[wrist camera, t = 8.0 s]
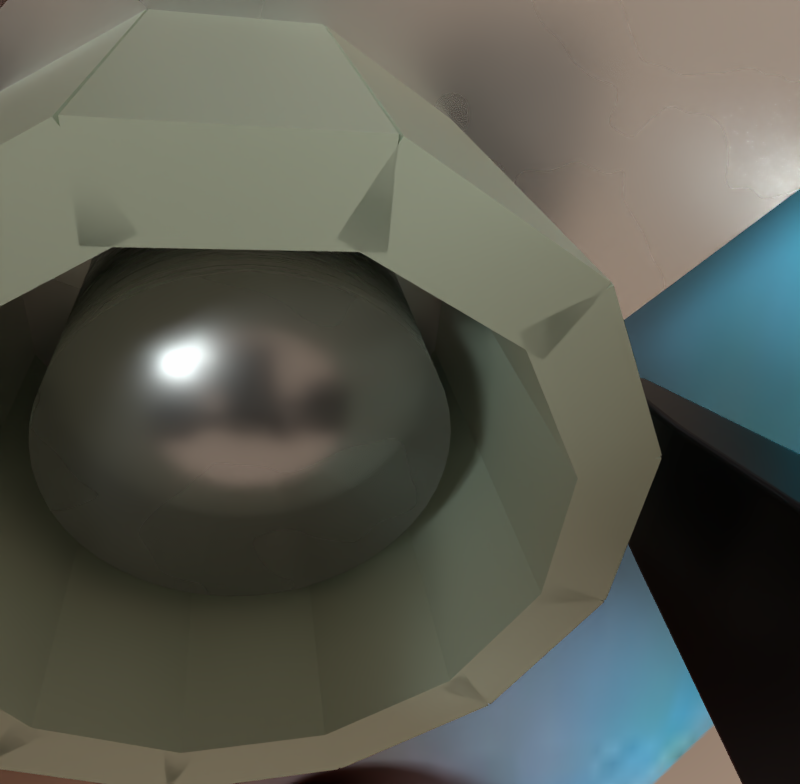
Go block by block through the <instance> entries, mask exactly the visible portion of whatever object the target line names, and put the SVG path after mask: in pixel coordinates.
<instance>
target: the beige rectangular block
mask: <svg viewBox="0 0 800 784" xmlns="http://www.w3.org/2000/svg"><path fill="white" fill-rule="evenodd" d="M148 9H153V10H165V11H176V12H188V13H199V14H211V15H222V16H234V17H245V18H257V19H268V20H279V21H291V22H302V23H314V24H323V25H324V26H327V27H329V28H330V29H331V30H333V31H334V32H335V33H337V34H338V35H339V36H341V37H342V38H343V39H345V40H346V41H347V42H349V43H350V44H351V45H353V46H354V47H355V48H357V49H358V50H359V51H361V52H362V53H363V54H365V55H366V56H367V57H369V58H370V59H371V60H373V61H374V62H375V63H377V64H378V65H379V66H381V67H382V68H383V69H385V70H386V71H387V72H389V73H390V74H391V75H393V76H394V77H395V78H397V79H398V80H399V81H401V82H402V83H403V84H405V85H406V86H407V87H409V88H410V89H411V90H413V91H414V92H415V93H417V94H418V95H419V96H421V97H422V98H423V99H425V100H426V101H427V102H429V103H430V104H431V105H433V106H434V107H435V108H437V109H438V110H439V111H441V112H442V113H443V114H445V115H446V116H447V117H449V118H450V119H451V120H452V121H453V122H454V123H455V124H456V125H457V126H458V127H459V128H460V129H461V130H462V131H463V132H464V133H465V134H466V135H467V136H468V137H469V138H470V139H471V140H472V141H473V142H474V143H475V144H476V145H477V146H478V147H479V148H480V149H481V150H482V151H483V152H484V153H485V154H486V155H487V156H488V157H489V158H490V159H491V160H492V161H493V162H494V163H495V164H496V165H497V166H498V167H499V168H500V169H501V170H502V171H503V172H504V173H505V174H506V175H507V176H508V178H509V179H510V180H511V181H512V182H513V183H514V184H515V185H516V186H517V187H518V188H519V189H520V190H521V191H522V192H523V193H524V194H525V195H526V196H527V197H528V198H529V199H530V200H531V201H532V202H533V203H534V204H535V205H536V206H537V207H538V208H539V209H540V210H541V211H542V212H543V213H544V214H545V215H546V216H547V217H548V218H549V219H550V220H551V221H552V222H553V223H554V224H555V225H556V226H557V227H558V228H559V229H560V230H561V231H562V232H563V233H564V235H565V236H566V237H567V238H568V239H569V240H570V241H571V242H572V243H573V244H574V245H575V246H576V247H577V248H578V249H579V250H580V251H581V252H582V253H583V254H584V255H585V256H586V257H587V258H588V259H589V260H590V261H591V262H592V263H593V264H594V265H595V266H596V267H597V268H598V269H599V270H600V271H601V272H602V273H603V274H604V275H605V276H606V277H607V278H608V279H609V280H610V281H611V282H612V284H613V285H614V288H615V292H616V295H617V299H618V302H619V306H620V309H621V313H622V316H623V320H625V319H626V318H627V317H629V316H630V315H631V314H633V313H634V312H635V311H637V310H638V309H639V308H641V307H642V306H643V305H645V304H646V303H647V302H649V301H650V300H652V299H653V298H654V297H656V296H657V295H658V294H660V293H661V292H662V291H664V290H665V289H666V288H668V287H669V286H670V285H672V284H673V283H674V282H676V281H677V280H678V279H680V278H681V277H682V276H684V275H685V274H686V273H688V272H689V271H690V270H692V269H693V268H694V267H696V266H697V265H698V264H700V263H701V262H702V261H704V260H705V259H706V258H708V257H709V256H710V255H712V254H713V253H714V252H716V251H717V250H718V249H720V248H721V247H722V246H724V245H725V244H727V243H728V242H729V241H731V240H732V239H733V238H735V237H736V236H737V235H739V234H740V233H741V232H743V231H744V230H745V229H747V228H748V227H749V226H751V225H752V224H753V223H755V222H756V221H757V220H759V219H760V218H761V217H763V216H764V215H765V214H767V213H768V212H769V211H771V210H772V209H773V208H775V207H776V206H777V205H779V204H780V203H781V202H783V201H784V200H785V199H787V198H788V197H789V196H791V195H792V194H793V193H795V192H796V191H797V190H799V189H800V0H7V1H6V3H5V4H4V5H3V6H2V7H1V8H0V92H1V91H2V90H4V89H6V88H8V87H9V86H11V85H13V84H15V83H17V82H18V81H20V80H22V79H24V78H25V77H27V76H29V75H31V74H33V73H34V72H36V71H38V70H40V69H41V68H43V67H45V66H47V65H49V64H50V63H52V62H54V61H56V60H57V59H59V58H61V57H63V56H64V55H66V54H68V53H70V52H72V51H73V50H75V49H77V48H79V47H80V46H82V45H84V44H86V43H88V42H89V41H91V40H93V39H95V38H96V37H98V36H100V35H102V34H104V33H105V32H107V31H109V30H111V29H112V28H114V27H116V26H118V25H120V24H121V23H123V22H125V21H127V20H128V19H130V18H132V17H134V16H136V15H137V14H139V13H141V12H143V11H144V10H146V11H148ZM22 297H23V301H24V306H25V310H26V315H27V319H28V324H29V329H30V333H31V338H32V342H33V347H34V351H35V355H36V356H37V357H38V358H39V359H40V360H41V361H42V362H43V363H44V364H45V365H46V366H47V367H48V368H47V371H46V373H45V376H44V378H43V380H42V383H41V385H40V388H39V390H38V393H37V395H36V397H35V400H34V404H33V408H32V413H31V418H30V422H29V453H30V460H31V466H32V471H33V474H34V476H35V479H36V482H37V485H38V488H39V491H40V492H41V494H42V496H43V498H44V500H45V502H46V504H47V505H48V507H49V509H50V511H51V512H52V513H53V514H54V516H55V517H56V518H57V520H58V521H59V522H60V524H61V525H62V526H63V528H64V529H65V530H66V531H67V532H68V533H69V534H70V535H72V536H73V537H74V538H75V539H76V540H77V541H78V542H79V543H80V544H81V545H82V546H84V547H85V548H86V549H87V550H89V551H90V552H91V553H93V554H94V555H95V556H97V557H98V558H100V559H101V560H103V561H105V562H106V563H108V564H110V565H112V566H113V567H115V568H117V569H118V570H121V571H123V572H125V573H127V574H130V575H132V576H134V577H136V578H138V579H141V580H144V581H147V582H150V583H153V584H156V585H159V586H162V587H166V588H171V589H175V590H179V591H184V592H190V593H197V594H204V595H217V596H251V595H263V594H271V593H279V592H284V591H288V590H293V589H298V588H302V587H306V586H309V585H312V584H315V583H319V582H322V581H325V580H327V579H330V578H332V577H335V576H337V575H340V574H342V573H345V572H347V571H348V570H350V569H352V568H354V567H356V566H358V565H360V564H362V563H364V562H365V561H367V560H369V559H370V558H372V557H373V556H375V555H376V554H378V553H379V552H381V551H382V550H384V549H385V548H386V547H387V546H389V545H390V544H391V543H392V542H394V541H395V540H396V539H397V538H399V537H400V536H401V535H402V534H403V533H404V532H405V531H406V530H407V529H408V528H409V527H410V526H411V525H412V524H413V522H414V521H415V520H416V519H417V517H418V516H419V515H420V514H421V512H422V511H423V510H424V508H425V507H426V506H427V504H428V502H429V501H430V499H431V497H432V496H433V494H434V492H435V490H436V489H437V486H438V484H439V482H440V479H441V477H442V474H443V472H444V469H445V465H446V461H447V457H448V453H449V446H450V435H451V426H450V412H449V407H448V403H447V399H446V395H445V391H444V388H443V386H442V383H441V381H440V379H439V376H438V374H437V372H436V369H435V367H434V364H433V362H432V360H431V357H430V356H431V354H432V353H433V352H434V351H435V346H436V339H437V332H438V325H439V319H440V312H441V305H442V300H440V299H439V298H437V297H435V296H434V295H432V294H430V293H429V292H427V291H425V290H423V289H422V288H420V287H418V286H417V285H415V284H413V283H412V282H410V281H408V280H406V279H405V278H403V277H401V276H400V275H398V274H396V273H395V272H393V271H391V270H390V269H388V268H386V267H384V266H383V265H381V264H379V263H378V262H376V261H374V260H373V259H371V258H369V257H367V256H366V255H364V254H362V253H361V252H337V251H286V250H235V249H185V248H134V247H112V248H110V249H108V250H106V251H104V252H102V253H100V254H98V255H96V256H95V257H93V258H91V259H89V260H87V261H85V262H83V263H81V264H79V265H77V266H76V267H74V268H72V269H70V270H68V271H66V272H64V273H62V274H60V275H59V276H57V277H55V278H53V279H51V280H49V281H47V282H45V283H43V284H42V285H40V286H38V287H36V288H34V289H32V290H30V291H28V292H26V293H24V294H23V295H22Z"/></svg>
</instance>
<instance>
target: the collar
mask: <svg viewBox="0 0 800 784" xmlns="http://www.w3.org/2000/svg"><path fill="white" fill-rule="evenodd" d="M112 247H134V248H185V249H235V250H286V251H337V252H361V253H362V254H364V255H366V256H367V257H369V258H371V259H373V260H374V261H376V262H378V263H379V264H381V265H383V266H384V267H386V268H388V269H390V270H391V271H393V272H395V273H396V274H398V275H400V276H401V277H403V278H405V279H406V280H408V281H410V282H412V283H413V284H415V285H417V286H418V287H420V288H422V289H423V290H425V291H427V292H429V293H430V294H432V295H434V296H435V297H437V298H439V299H440V300H442V305H441V312H440V319H439V325H438V332H437V339H436V346H435V351H434V352H433V353H432V354H431V356H430V357H431V360H432V362H433V364H434V367H435V369H436V372H437V374H438V376H439V379H440V381H441V383H442V386H443V388H444V391H445V395H446V399H447V403H448V407H449V412H450V426H451V435H450V446H449V453H448V457H447V461H446V465H445V469H444V472H443V474H442V477H441V479H440V482H439V484H438V486H437V489H436V490H435V492H434V494H433V496H432V497H431V499H430V501H429V502H428V504H427V506H426V507H425V508H424V510H423V511H422V512H421V514H420V515H419V516H418V517H417V519H416V520H415V521H414V522H413V524H412V525H411V526H410V527H409V528H408V529H407V530H406V531H405V532H404V533H403V534H402V535H401V536H400V537H399V538H397V539H396V540H395V541H394V542H392V543H391V544H390V545H389V546H387V547H386V548H385V549H384V550H382V551H381V552H379V553H378V554H376V555H375V556H373V557H372V558H370V559H369V560H367V561H365V562H364V563H362V564H360V565H358V566H356V567H354V568H352V569H350V570H348V571H347V572H345V573H342V574H340V575H337V576H335V577H332V578H330V579H327V580H325V581H322V582H319V583H315V584H312V585H309V586H306V587H302V588H298V589H293V590H288V591H284V592H279V593H271V594H263V595H251V596H217V595H204V594H197V593H190V592H184V591H179V590H175V589H171V588H166V587H162V586H159V585H156V584H153V583H150V582H147V581H144V580H141V579H138V578H136V577H134V576H132V575H130V574H127V573H125V572H123V571H121V570H118V569H117V568H115V567H113V566H112V565H110V564H108V563H106V562H105V561H103V560H101V559H100V558H98V557H97V556H95V555H94V554H93V553H91V552H90V551H89V550H87V549H86V548H85V547H84V546H82V545H81V544H80V543H79V542H78V541H77V540H76V539H75V538H74V537H73V536H72V535H70V534H69V533H68V532H67V531H66V530H65V529H64V528H63V526H62V525H61V524H60V522H59V521H58V520H57V518H56V517H55V516H54V514H53V513H52V512H51V511H50V509H49V507H48V505H47V504H46V502H45V500H44V498H43V496H42V494H41V492H40V491H39V488H38V485H37V482H36V479H35V476H34V474H33V471H32V466H31V460H30V453H29V422H30V418H31V413H32V408H33V404H34V400H35V397H36V395H37V393H38V390H39V388H40V385H41V383H42V380H43V378H44V376H45V373H46V371H47V368H48V367H47V366H46V365H45V364H44V363H43V362H42V361H41V360H40V359H39V358H38V357H37V356H36V355H35V351H34V347H33V342H32V338H31V333H30V329H29V324H28V319H27V315H26V310H25V306H24V301H23V297H22V295H23V294H24V293H26V292H28V291H30V290H32V289H34V288H36V287H38V286H40V285H42V284H43V283H45V282H47V281H49V280H51V279H53V278H55V277H57V276H59V275H60V274H62V273H64V272H66V271H68V270H70V269H72V268H74V267H76V266H77V265H79V264H81V263H83V262H85V261H87V260H89V259H91V258H93V257H95V256H96V255H98V254H100V253H102V252H104V251H106V250H108V249H110V248H112ZM660 456H662V454H661V450H660V447H659V443H658V440H657V436H656V433H655V429H654V426H653V422H652V419H651V415H650V412H649V408H648V404H647V401H646V397H645V394H644V390H643V387H642V383H641V380H640V376H639V373H638V369H637V366H636V362H635V359H634V355H633V352H632V348H631V344H630V341H629V337H628V334H627V330H626V327H625V323H624V320H623V316H622V313H621V309H620V306H619V302H618V299H617V295H616V292H615V288H614V285H613V284H612V282H611V281H610V280H609V279H608V278H607V277H606V276H605V275H604V274H603V273H602V272H601V271H600V270H599V269H598V268H597V267H596V266H595V265H594V264H593V263H592V262H591V261H590V260H589V259H588V258H587V257H586V256H585V255H584V254H583V253H582V252H581V251H580V250H579V249H578V248H577V247H576V246H575V245H574V244H573V243H572V242H571V241H570V240H569V239H568V238H567V237H566V236H565V235H564V233H563V232H562V231H561V230H560V229H559V228H558V227H557V226H556V225H555V224H554V223H553V222H552V221H551V220H550V219H549V218H548V217H547V216H546V215H545V214H544V213H543V212H542V211H541V210H540V209H539V208H538V207H537V206H536V205H535V204H534V203H533V202H532V201H531V200H530V199H529V198H528V197H527V196H526V195H525V194H524V193H523V192H522V191H521V190H520V189H519V188H518V187H517V186H516V185H515V184H514V183H513V182H512V181H511V180H510V179H509V178H508V176H507V175H506V174H505V173H504V172H503V171H502V170H501V169H500V168H499V167H498V166H497V165H496V164H495V163H494V162H493V161H492V160H491V159H490V158H489V157H488V156H487V155H486V154H485V153H484V152H483V151H482V150H481V149H480V148H479V147H478V146H477V145H476V144H475V143H474V142H473V141H472V140H471V139H470V138H469V137H468V136H467V135H466V134H465V133H464V132H463V131H462V130H461V129H460V128H459V127H458V126H457V125H456V124H455V123H454V122H453V121H452V120H451V119H450V118H449V117H447V116H446V115H445V114H443V113H442V112H441V111H439V110H438V109H437V108H435V107H434V106H433V105H431V104H430V103H429V102H427V101H426V100H425V99H423V98H422V97H421V96H419V95H418V94H417V93H415V92H414V91H413V90H411V89H410V88H409V87H407V86H406V85H405V84H403V83H402V82H401V81H399V80H398V79H397V78H395V77H394V76H393V75H391V74H390V73H389V72H387V71H386V70H385V69H383V68H382V67H381V66H379V65H378V64H377V63H375V62H374V61H373V60H371V59H370V58H369V57H367V56H366V55H365V54H363V53H362V52H361V51H359V50H358V49H357V48H355V47H354V46H353V45H351V44H350V43H349V42H347V41H346V40H345V39H343V38H342V37H341V36H339V35H338V34H337V33H335V32H334V31H333V30H331V29H330V28H329V27H327V26H324V25H323V24H314V23H302V22H291V21H279V20H268V19H257V18H245V17H234V16H222V15H211V14H199V13H188V12H176V11H165V10H153V9H148V11H146V10H144V11H143V12H141V13H139V14H137V15H136V16H134V17H132V18H130V19H128V20H127V21H125V22H123V23H121V24H120V25H118V26H116V27H114V28H112V29H111V30H109V31H107V32H105V33H104V34H102V35H100V36H98V37H96V38H95V39H93V40H91V41H89V42H88V43H86V44H84V45H82V46H80V47H79V48H77V49H75V50H73V51H72V52H70V53H68V54H66V55H64V56H63V57H61V58H59V59H57V60H56V61H54V62H52V63H50V64H49V65H47V66H45V67H43V68H41V69H40V70H38V71H36V72H34V73H33V74H31V75H29V76H27V77H25V78H24V79H22V80H20V81H18V82H17V83H15V84H13V85H11V86H9V87H8V88H6V89H4V90H2V91H1V92H0V769H3V770H11V771H18V772H25V773H32V774H39V775H46V776H53V777H60V778H68V779H75V780H82V781H89V782H96V783H103V784H233V783H240V782H248V781H255V780H263V779H270V778H277V777H285V776H292V775H300V774H307V773H314V772H322V771H329V770H337V769H338V767H340V768H343V767H346V766H348V765H350V764H353V763H355V762H357V761H360V760H362V759H364V758H367V757H369V756H371V755H374V754H376V753H378V752H381V751H383V750H385V749H388V748H390V747H392V746H395V745H397V744H399V743H402V742H404V741H406V740H409V739H411V738H413V737H416V736H418V735H420V734H423V733H425V732H427V731H430V730H432V729H434V728H437V727H439V726H441V725H444V724H446V723H448V722H451V721H453V720H455V719H458V718H460V717H462V716H465V715H467V714H469V713H472V712H474V711H476V710H479V709H481V708H483V707H486V706H488V703H489V704H491V703H492V702H493V701H494V700H496V699H497V698H498V697H499V696H500V695H501V694H502V693H503V692H504V691H506V690H507V689H508V688H509V687H510V686H511V685H512V684H513V683H514V682H516V681H517V680H518V679H519V678H520V677H521V676H522V675H523V674H524V673H526V672H527V671H528V670H529V669H530V668H531V667H532V666H533V665H534V664H536V663H537V662H538V661H539V660H540V659H541V658H542V657H543V656H544V655H546V654H547V653H548V652H549V651H550V650H551V649H552V648H553V647H554V646H556V645H557V644H558V643H559V642H560V641H561V640H562V639H563V638H565V637H566V636H567V635H568V634H569V633H570V632H571V631H572V630H573V629H575V628H576V627H577V626H578V625H579V624H580V623H581V622H582V621H583V620H585V619H586V618H587V617H588V616H589V615H590V614H591V613H592V612H593V611H595V610H596V609H597V608H598V607H599V606H600V605H601V604H602V603H603V602H604V600H606V598H607V596H608V593H609V590H610V588H611V585H612V583H613V580H614V578H615V575H616V573H617V570H618V568H619V565H620V563H621V560H622V558H623V555H624V552H625V550H626V547H627V545H628V542H629V540H630V537H631V535H632V532H633V530H634V527H635V525H636V522H637V520H638V517H639V514H640V512H641V509H642V507H643V504H644V502H645V499H646V497H647V494H648V492H649V489H650V487H651V484H652V482H653V479H654V477H655V474H656V471H657V469H658V466H659V464H660V461H661V459H662V458H661V457H660Z"/></svg>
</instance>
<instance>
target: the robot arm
mask: <svg viewBox="0 0 800 784" xmlns="http://www.w3.org/2000/svg"><path fill="white" fill-rule="evenodd" d="M640 380H641V383H642V387H643V390H644V394H645V397H646V401H647V404H648V408H649V412H650V415H651V419H652V422H653V426H654V429H655V433H656V436H657V440H658V443H659V447H660V450H661V454H662V456H660V457H661V458H662V459H661V461H660V464H659V466H658V469H657V471H656V474H655V477H654V479H653V482H652V484H651V487H650V489H649V492H648V494H647V497H646V499H645V502H644V504H643V507H642V509H641V512H640V514H639V517H638V520H637V522H636V525H635V527H634V530H633V532H632V535H631V537H630V540H629V542H628V544H629V547H630V549H631V551H632V553H633V556H634V558H635V560H636V562H637V564H638V567H639V569H640V571H641V573H642V575H643V577H644V579H645V581H646V583H647V585H648V587H649V590H650V592H651V594H652V596H653V598H654V600H655V602H656V604H657V606H658V608H659V611H660V613H661V615H662V617H663V619H664V621H665V623H666V625H667V627H668V629H669V631H670V634H671V636H672V638H673V640H674V642H675V644H676V646H677V648H678V650H679V652H680V654H681V657H682V659H683V661H684V663H685V665H686V667H687V669H688V671H689V673H690V675H691V678H692V680H693V682H694V684H695V686H696V688H697V690H698V692H699V694H700V696H701V698H702V701H703V703H704V705H705V707H706V709H707V711H708V713H709V715H710V717H711V719H712V721H713V724H714V726H715V728H716V730H717V732H718V734H719V736H720V738H721V740H722V742H723V744H724V747H725V749H726V751H727V753H728V755H729V757H730V759H731V761H732V763H733V765H734V767H735V770H736V771H737V774H738V776H739V778H740V780H741V782H742V784H800V454H798V453H796V452H794V451H792V450H790V449H788V448H786V447H783V446H781V445H779V444H777V443H775V442H773V441H771V440H769V439H767V438H765V437H763V436H761V435H759V434H757V433H755V432H753V431H751V430H749V429H747V428H745V427H743V426H741V425H738V424H736V423H734V422H732V421H730V420H728V419H726V418H724V417H722V416H720V415H718V414H716V413H714V412H712V411H710V410H708V409H706V408H704V407H702V406H700V405H698V404H696V403H693V402H691V401H689V400H687V399H685V398H683V397H681V396H679V395H677V394H675V393H673V392H671V391H669V390H667V389H665V388H663V387H661V386H659V385H657V384H655V383H653V382H651V381H648V380H646V379H643V378H640Z"/></svg>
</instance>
